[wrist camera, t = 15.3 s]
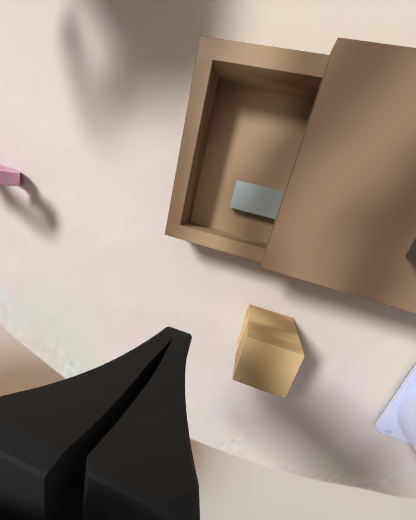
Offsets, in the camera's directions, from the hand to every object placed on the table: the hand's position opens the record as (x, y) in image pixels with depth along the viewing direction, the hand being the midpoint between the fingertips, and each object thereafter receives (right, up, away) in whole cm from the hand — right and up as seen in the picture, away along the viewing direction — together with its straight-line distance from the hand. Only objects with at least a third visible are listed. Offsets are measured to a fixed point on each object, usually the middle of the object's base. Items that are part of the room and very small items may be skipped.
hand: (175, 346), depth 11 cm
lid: (+13, +8, +1) cm, 15 cm away
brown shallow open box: (+7, +11, +5) cm, 14 cm away
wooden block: (+7, -2, +9) cm, 12 cm away
